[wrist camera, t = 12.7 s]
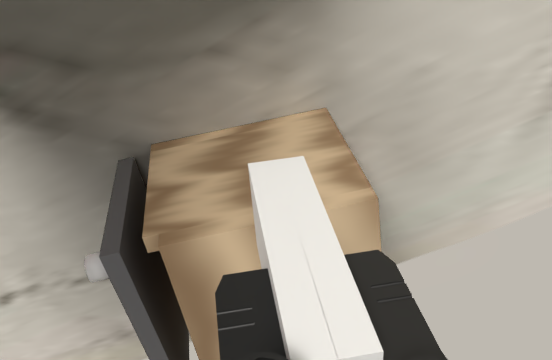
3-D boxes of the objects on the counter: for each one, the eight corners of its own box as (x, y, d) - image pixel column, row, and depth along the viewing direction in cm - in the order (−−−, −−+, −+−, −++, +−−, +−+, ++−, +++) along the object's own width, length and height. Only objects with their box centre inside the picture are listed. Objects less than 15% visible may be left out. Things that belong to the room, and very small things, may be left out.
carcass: (198, 290, 50) (204, 414, 39) (151, 144, 41) (140, 250, 30) (342, 258, 50) (388, 370, 39) (326, 107, 42) (378, 198, 31)
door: (161, 310, 49) (157, 422, 40) (97, 165, 40) (71, 264, 31) (191, 303, 49) (194, 412, 40) (134, 156, 40) (120, 252, 31)
